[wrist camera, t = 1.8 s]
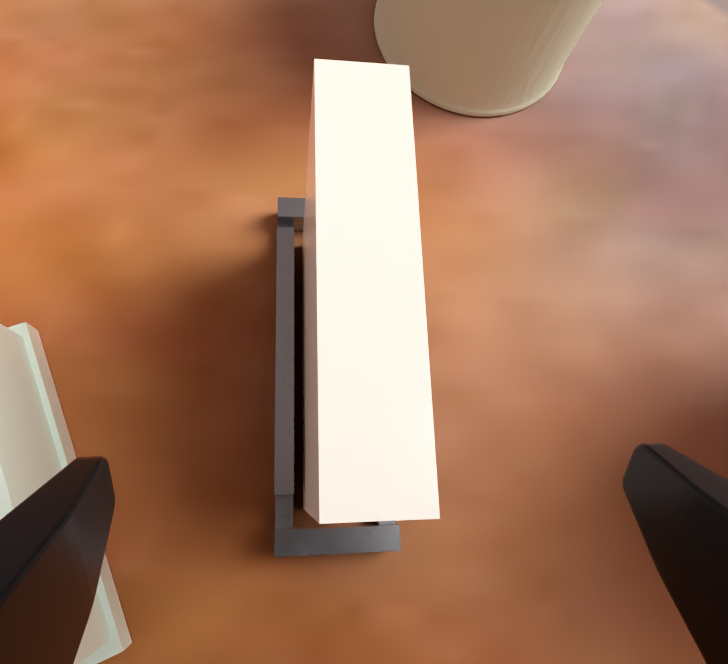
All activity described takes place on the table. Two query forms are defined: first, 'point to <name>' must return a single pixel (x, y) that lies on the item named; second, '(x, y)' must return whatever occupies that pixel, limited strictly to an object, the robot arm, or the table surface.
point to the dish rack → (46, 467)
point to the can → (481, 48)
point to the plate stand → (287, 537)
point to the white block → (364, 304)
